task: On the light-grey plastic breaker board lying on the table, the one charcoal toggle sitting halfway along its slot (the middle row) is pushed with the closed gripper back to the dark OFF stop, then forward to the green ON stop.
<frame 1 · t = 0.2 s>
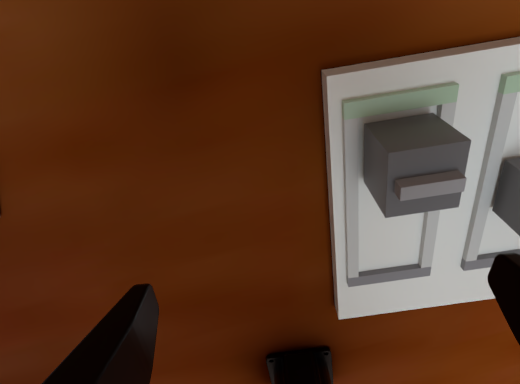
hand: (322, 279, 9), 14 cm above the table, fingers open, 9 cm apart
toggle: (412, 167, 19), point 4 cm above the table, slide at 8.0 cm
breaker board: (506, 186, 25), on the table
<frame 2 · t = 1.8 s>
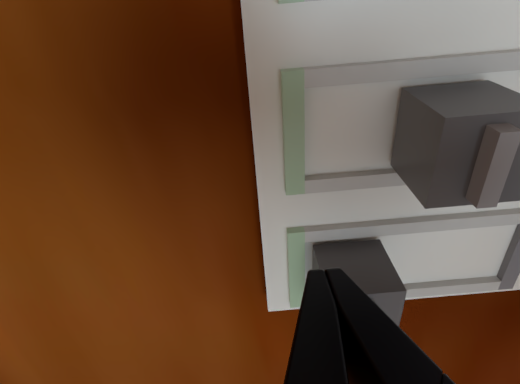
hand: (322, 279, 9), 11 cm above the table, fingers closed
toggle middle: (463, 145, 15), point 4 cm above the table, slide at 4.0 cm
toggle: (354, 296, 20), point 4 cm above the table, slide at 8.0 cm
breaker board: (448, 110, 18), on the table
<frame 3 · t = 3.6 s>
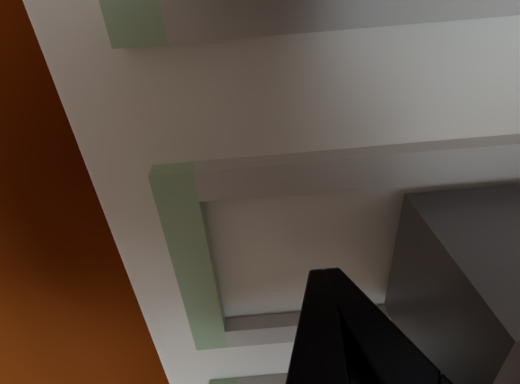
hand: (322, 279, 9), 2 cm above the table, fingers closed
breaker board: (468, 208, 11), on the table
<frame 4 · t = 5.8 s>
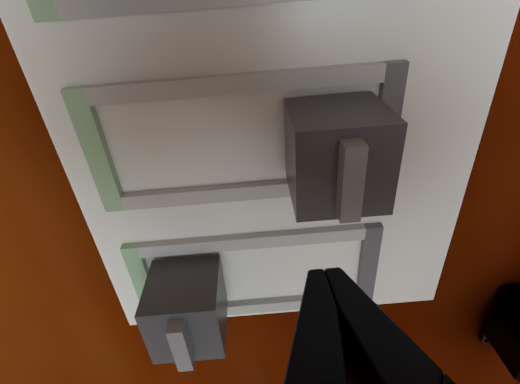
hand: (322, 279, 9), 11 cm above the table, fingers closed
toggle middle: (337, 158, 15), point 4 cm above the table, slide at -0.1 cm
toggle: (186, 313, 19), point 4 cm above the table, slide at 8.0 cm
breaker board: (270, 126, 18), on the table
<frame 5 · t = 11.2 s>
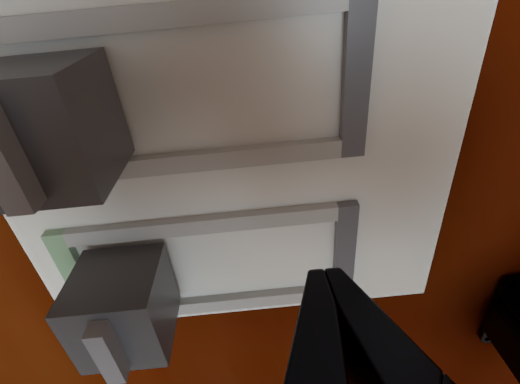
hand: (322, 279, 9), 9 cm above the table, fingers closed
toggle middle: (37, 131, 11), point 4 cm above the table, slide at 8.1 cm
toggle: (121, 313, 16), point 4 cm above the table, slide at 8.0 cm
breaker board: (216, 81, 15), on the table
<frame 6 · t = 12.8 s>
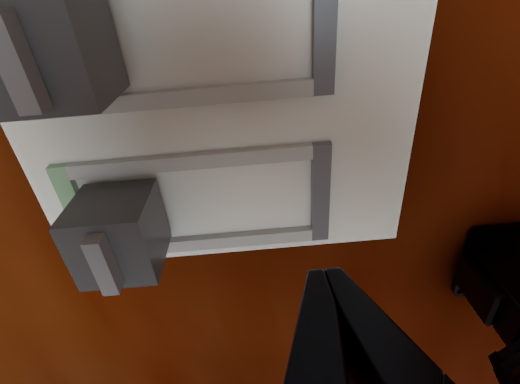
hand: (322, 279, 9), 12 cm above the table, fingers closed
toggle middle: (45, 53, 13), point 4 cm above the table, slide at 8.1 cm
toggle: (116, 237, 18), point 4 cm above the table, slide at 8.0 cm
breaker board: (203, 26, 17), on the table
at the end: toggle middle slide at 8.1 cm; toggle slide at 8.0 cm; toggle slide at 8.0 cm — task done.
